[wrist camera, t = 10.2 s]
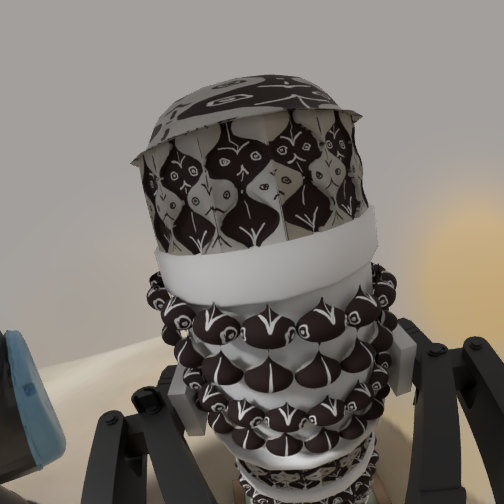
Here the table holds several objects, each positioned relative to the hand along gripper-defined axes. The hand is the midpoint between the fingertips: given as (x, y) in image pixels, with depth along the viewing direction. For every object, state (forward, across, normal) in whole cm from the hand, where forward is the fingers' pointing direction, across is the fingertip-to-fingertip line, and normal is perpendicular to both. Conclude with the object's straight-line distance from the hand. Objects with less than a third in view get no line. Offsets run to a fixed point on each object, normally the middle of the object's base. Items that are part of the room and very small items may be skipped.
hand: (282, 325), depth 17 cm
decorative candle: (-5, 0, -14) cm, 14 cm away
